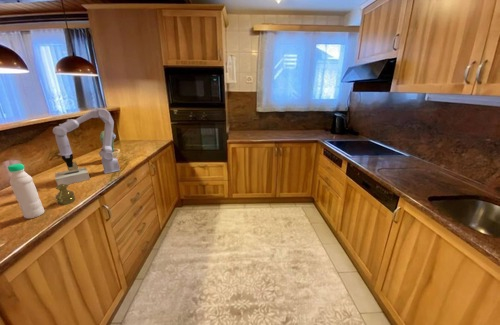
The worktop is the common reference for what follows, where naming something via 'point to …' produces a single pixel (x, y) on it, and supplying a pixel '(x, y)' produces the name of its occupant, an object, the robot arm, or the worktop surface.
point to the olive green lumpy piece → (64, 195)
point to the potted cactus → (114, 151)
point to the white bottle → (25, 192)
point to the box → (72, 176)
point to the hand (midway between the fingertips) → (70, 166)
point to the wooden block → (73, 167)
